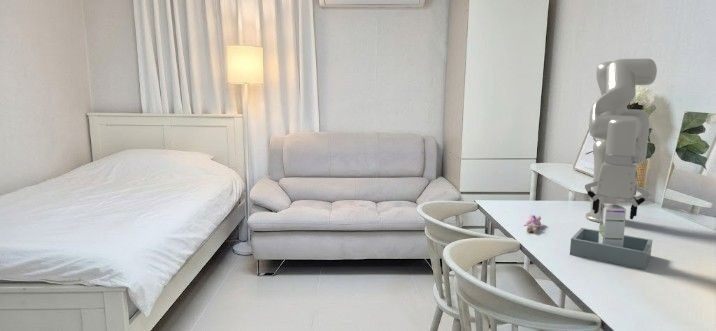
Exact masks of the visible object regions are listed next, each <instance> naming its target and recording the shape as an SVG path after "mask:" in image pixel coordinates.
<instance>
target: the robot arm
mask: <svg viewBox="0 0 716 331" xmlns="http://www.w3.org/2000/svg"><path fill="white" fill-rule="evenodd" d="M657 68H658V67H657V64H656V62H655V61H654V59H651V58H620V59H615V60H613V61H605V62H602V63H600V64H599V65H598V66H597V68H596V74H595V75H596V82H597V86H598V89H599V91H600V95H601V96H599V97H598V99H596V101H594V103H593V104H592V106H591V109H590V112H589V118H588V119H589V120H588V121H589V122H588V123H589V124H588V131H589V132H588V133H589V134H590V136H591V137H592V138H593V139H596V141H595V142H594V144H593V148H592V149H593V150H592V151H593V177H592V178H593V180H592V182H589V183H587V184H585V185H584V189H585V190H586V192H587V195H588V196H589V197H590V199H591V200H590V211H589V212H587V213H585V219H587V220H589V221H592V222H596V223H600V213H601V204H619V205H620V199H621V200H628V201H629V202H630V203H631V204H632V205H631V206H630V211H629V219H630V220H634V218H635V217H637V216H638V215H637V213H638V206H640V205H641V204H643V203H644V202H645V201H646V200H647V199H648V198H649V196H650V195H651V193H650V191H648V190H647V189H644V188H643V187H642V186H639V185H638V168H637V166H639V165H642V164H643V163H644V162H646V158H647V152H648V141H649V131H650V117H649V116H650V115H649V113H648V112H647V111H645V109H644V110H643V109H635V108H634V109H630V108H628V104H630V103H632V102H633V101H634V99H635V97H636V95H637V94H636V86H649V85H651V84H653V83H654V82H655V81H656V78H657V72H658V69H657ZM637 192H638V193H640V194H642V196H641V197H639V198H638V199H637V197H636V195H637Z"/></svg>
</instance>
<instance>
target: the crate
mask: <svg viewBox="0 0 716 331" xmlns="http://www.w3.org/2000/svg"><path fill="white" fill-rule="evenodd" d="M598 238H599V229H597V230H596V229H591V228H585V227H581V228H580V229H579V230H578V231H576V233H575V234H574V235H573V236H572V237H571V238H570V247H569V255H570V256H575V257H582V258H586V259H590V260H595V261H600V262H606V263H611V264H615V265H619V266H620V265H621V266H625V267H630V268H635V269H640V270H643V271H644V270H646V268H647V265H648V262H649V260H650V258H651V253H652V247H653V245H652V244H653V239H651V238H650V239H649V238H644V237H638V236H631V235H625V234H624V242H623V247H618V246H612V245H607V244H602V243H598Z"/></svg>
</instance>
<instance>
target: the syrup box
mask: <svg viewBox="0 0 716 331" xmlns="http://www.w3.org/2000/svg"><path fill="white" fill-rule="evenodd" d="M626 213H627V209H626V208H625V207H624V206H622V205H621V204H620V203H619V204H601V213H600V222H599V226H598V227H599V228H598V231H599V238H598V243H602V244H607V245H612V246H618V247H623V242H624V235H625V229H626V226H625V225H626Z"/></svg>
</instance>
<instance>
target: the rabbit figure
mask: <svg viewBox="0 0 716 331" xmlns="http://www.w3.org/2000/svg"><path fill="white" fill-rule="evenodd" d="M541 219H542V217H541V215H533V214H530V215H529V216H528V220H527V221H525V222H526V223H525V224H523V226H524V227H526V226H527V227H526V233H531V232H532V233H533V234H537V232H538V229H542V228H543V226H542V222H541Z"/></svg>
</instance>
